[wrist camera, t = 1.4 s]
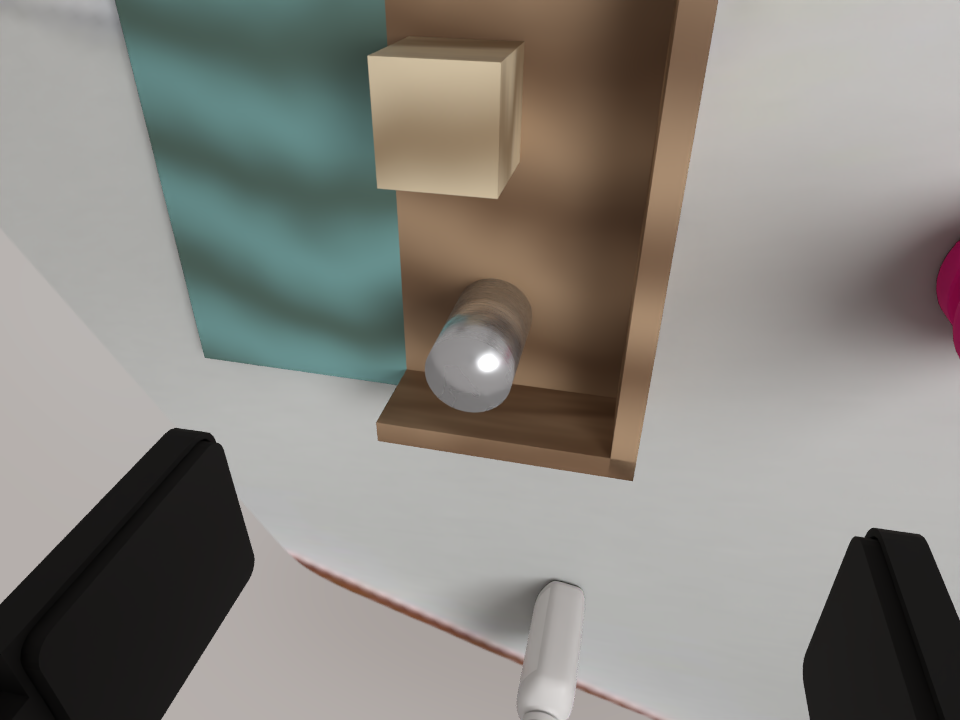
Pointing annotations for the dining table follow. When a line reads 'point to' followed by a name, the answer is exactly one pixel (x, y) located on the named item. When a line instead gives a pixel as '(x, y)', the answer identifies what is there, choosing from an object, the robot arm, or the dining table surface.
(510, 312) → the steel peg
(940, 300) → the pepper mill
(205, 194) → the cubby
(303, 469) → the dining table surface
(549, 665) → the eye dropper bottle
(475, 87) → the birch block
